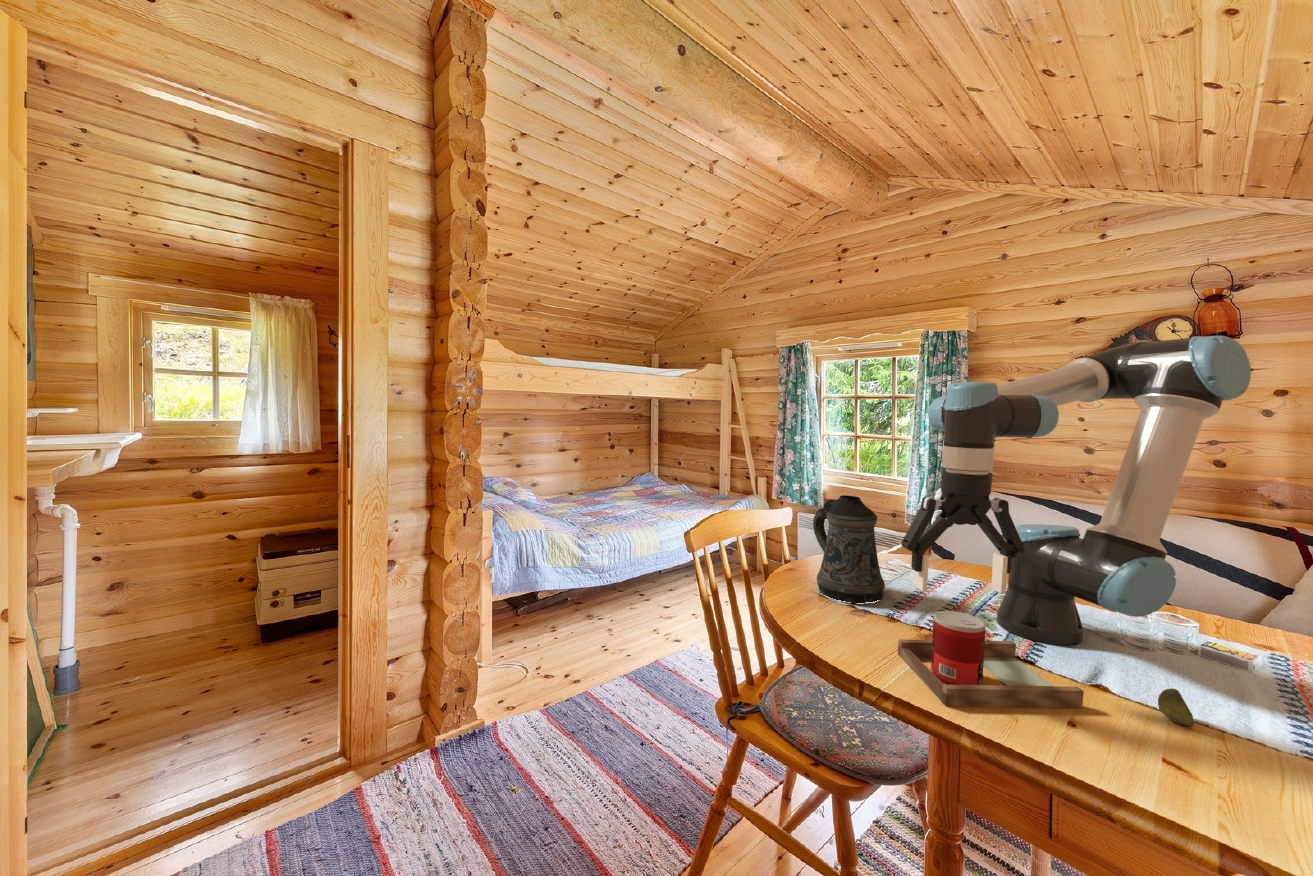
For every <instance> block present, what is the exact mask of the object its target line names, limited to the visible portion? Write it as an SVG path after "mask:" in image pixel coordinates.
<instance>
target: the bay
mask: <svg viewBox="0 0 1313 876" xmlns="http://www.w3.org/2000/svg"><path fill="white" fill-rule="evenodd" d="M897 642H898V643H897V644H898V645H897V655H898V656H899V657H900V658H901V659H902V660H903V661H904V663H905V664H906V665H907V666H908V667H909V668H910V670H912V671H913V672H914V673H915V675H917V677H918V678H919V679H920V680H921V681H922V682H923V683H924V685H926V686H927V687H928V688H929V690H930V691H931V692H932V693H933V694H934V695H935V696H936V698H938V699H939V701H940V702H941V703H942V704H943V705H944V706H945V707H960V708H961V707H963V708H964V707H965V708H966V707H967V708H968V707H969V708H970V707H971V708H975V707H976V708H982V707H983V708H1019V709H1020V708H1026V709H1027V708H1028V709H1029V708H1030V709H1032V708H1034V709H1035V708H1036V709H1081V710H1082V709H1083V704H1084V694H1085V693H1084V690H1083V689H1082V688H1081V687H1079V686H1064V685H1063V686H1060V685H1059V686H1057V685H1053V684H1052V683H1051V682H1049V681H1048V680H1047V679H1045V678H1044V677H1043V676H1041V675H1040V674H1039V673H1037V672H1036V671H1034V670H1033V669H1031V668H1030V667H1029V666H1027V665H1026V664H1025V663H1024V662H1022V661H1021V660H1019V659H1018V658H1016V652H1017V651H1016V650H1017V649H1016V648H1017V643H1015V642H1013V641H1012V640H985V649H984V665H983V669H984V668H985V670H987V671H988V672H989V673H990V674H991V675H993V676H994V677H996V678H997V680H999V682H1002V685H1000V684H999V685H998V684H981V685H946V684H944V683H942V682H941V681H940V680H939V679H938V678H937V677H936V676H935V675H934V674H933V673H932V670H931V669H929V668H928V667H927V666H926V665H925V664H924V662H922V661H921V659H923V658H925V659H926V658H927V659H932V639H900V638H899V639H898V641H897ZM920 658H921V659H920ZM1003 684H1004V685H1003Z"/></svg>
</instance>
